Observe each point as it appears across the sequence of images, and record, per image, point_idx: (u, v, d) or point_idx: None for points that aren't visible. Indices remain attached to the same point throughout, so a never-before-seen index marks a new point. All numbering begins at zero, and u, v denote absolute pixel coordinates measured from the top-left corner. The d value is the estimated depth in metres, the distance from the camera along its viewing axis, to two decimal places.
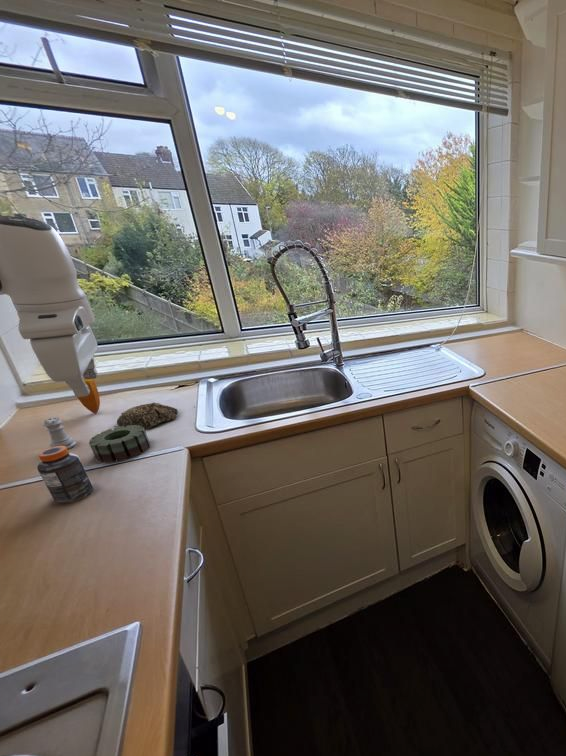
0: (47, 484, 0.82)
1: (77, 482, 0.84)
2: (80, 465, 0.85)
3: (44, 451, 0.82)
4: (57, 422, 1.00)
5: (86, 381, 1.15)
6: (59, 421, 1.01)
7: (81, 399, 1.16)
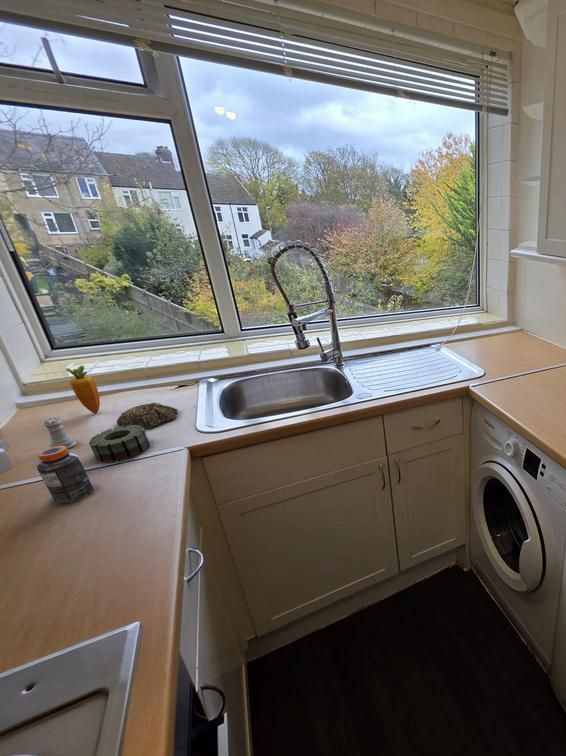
0: (47, 484, 0.82)
1: (77, 482, 0.84)
2: (80, 465, 0.85)
3: (44, 451, 0.82)
4: (57, 422, 1.00)
5: (86, 381, 1.15)
6: (59, 421, 1.01)
7: (81, 399, 1.16)
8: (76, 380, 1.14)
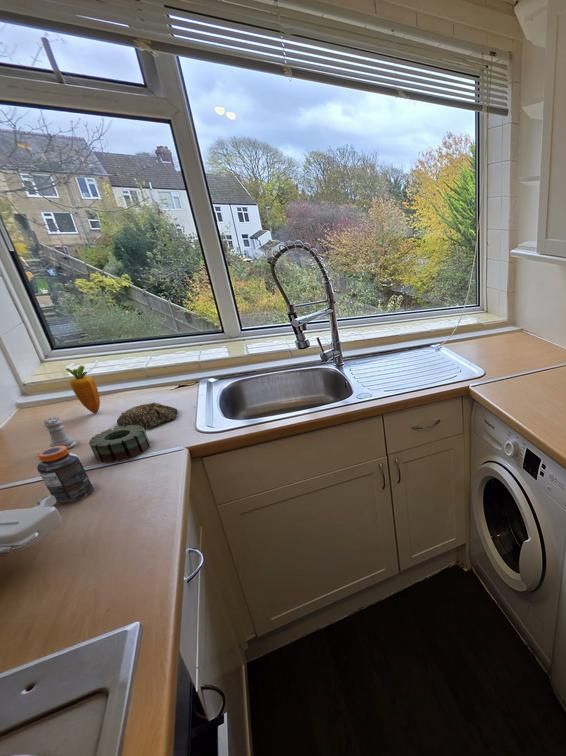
0: (47, 484, 0.82)
1: (77, 482, 0.84)
2: (80, 465, 0.85)
3: (44, 451, 0.82)
4: (57, 422, 1.00)
5: (86, 381, 1.15)
6: (59, 421, 1.01)
7: (81, 399, 1.16)
8: (76, 380, 1.14)
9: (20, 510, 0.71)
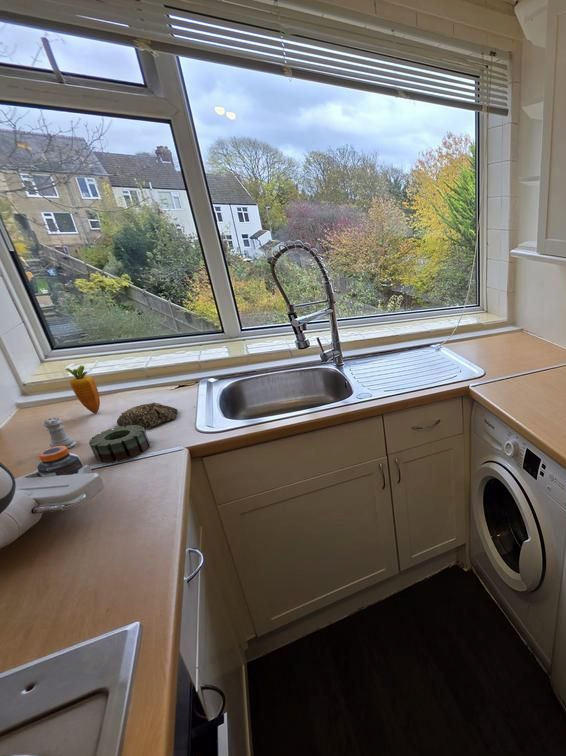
0: None
1: None
2: (80, 465, 0.85)
3: (44, 451, 0.82)
4: (57, 422, 1.00)
5: (86, 381, 1.15)
6: (59, 421, 1.01)
7: (81, 399, 1.16)
8: (76, 380, 1.14)
9: (68, 476, 0.80)
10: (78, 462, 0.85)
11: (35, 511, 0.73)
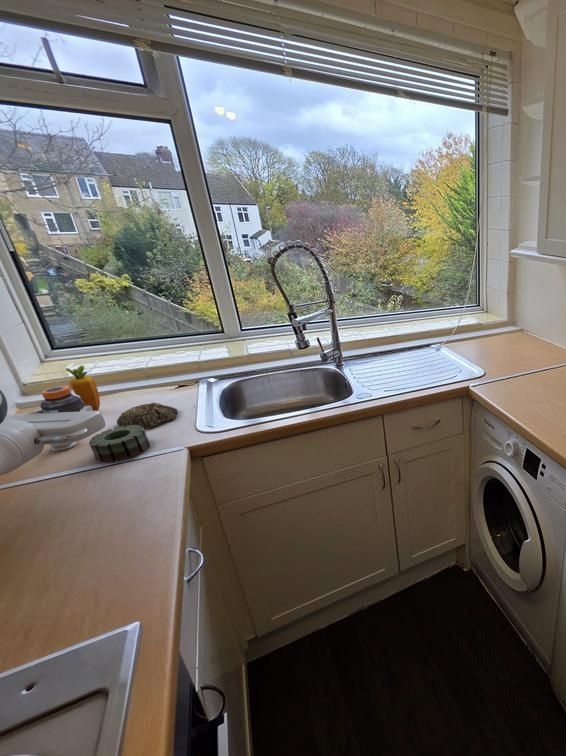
0: None
1: None
2: None
3: (47, 389, 0.84)
4: None
5: (86, 381, 1.15)
6: None
7: (81, 399, 1.16)
8: (76, 380, 1.14)
9: (71, 412, 0.82)
10: (80, 402, 0.86)
11: (38, 441, 0.75)
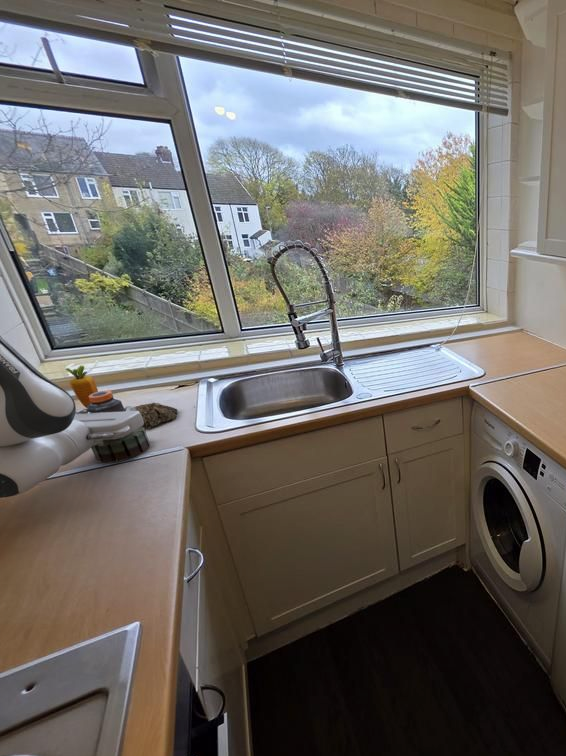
0: None
1: None
2: (122, 408, 0.99)
3: (93, 394, 0.95)
4: None
5: (86, 381, 1.15)
6: None
7: (81, 399, 1.16)
8: (76, 380, 1.14)
9: (114, 412, 0.93)
10: (121, 405, 0.98)
11: (89, 437, 0.87)
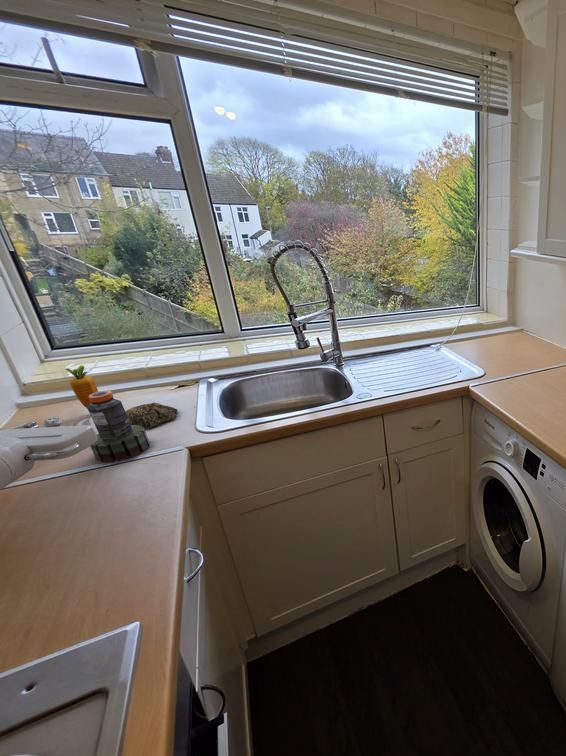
0: (95, 422, 0.95)
1: (120, 422, 0.98)
2: (122, 408, 0.99)
3: (93, 394, 0.95)
4: (57, 422, 1.00)
5: (86, 381, 1.15)
6: (59, 421, 1.01)
7: (81, 399, 1.16)
8: (76, 380, 1.14)
9: (62, 427, 0.81)
10: (121, 405, 0.98)
11: (28, 458, 0.74)
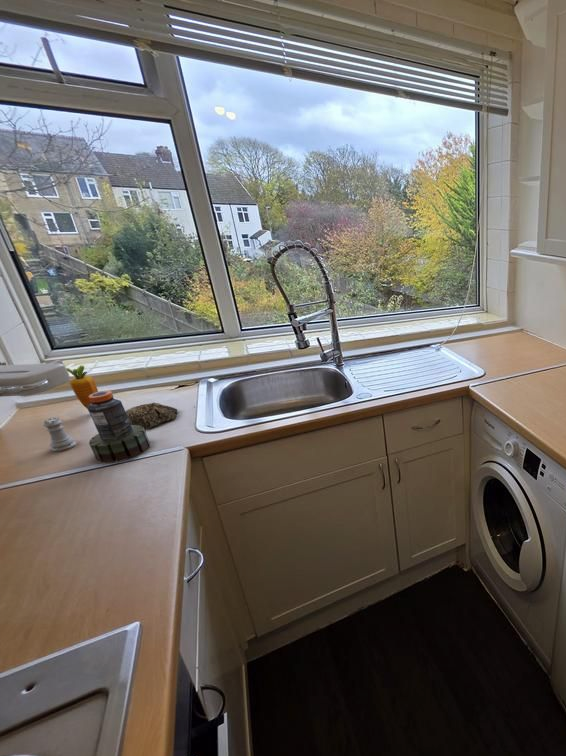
0: (95, 422, 0.95)
1: (120, 422, 0.98)
2: (122, 408, 0.99)
3: (93, 394, 0.95)
4: (57, 422, 1.00)
5: (86, 381, 1.15)
6: (59, 421, 1.01)
7: (81, 399, 1.16)
8: (76, 380, 1.14)
9: (31, 364, 0.75)
10: (121, 405, 0.98)
11: None
